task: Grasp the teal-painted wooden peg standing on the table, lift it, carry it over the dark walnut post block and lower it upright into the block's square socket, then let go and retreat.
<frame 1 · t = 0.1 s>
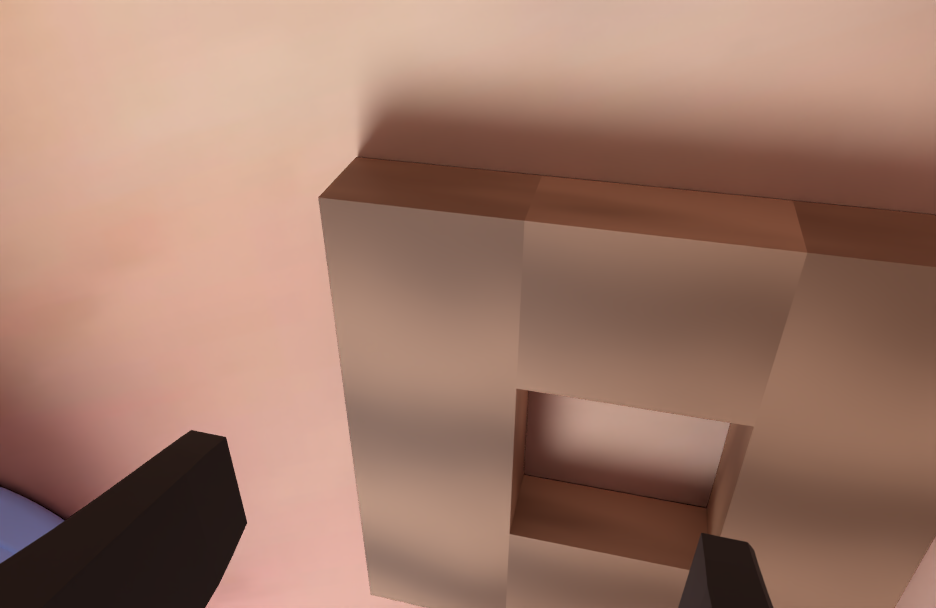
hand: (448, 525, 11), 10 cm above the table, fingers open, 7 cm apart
post block: (623, 425, 22), on the table
water jug: (24, 565, 38), on the table
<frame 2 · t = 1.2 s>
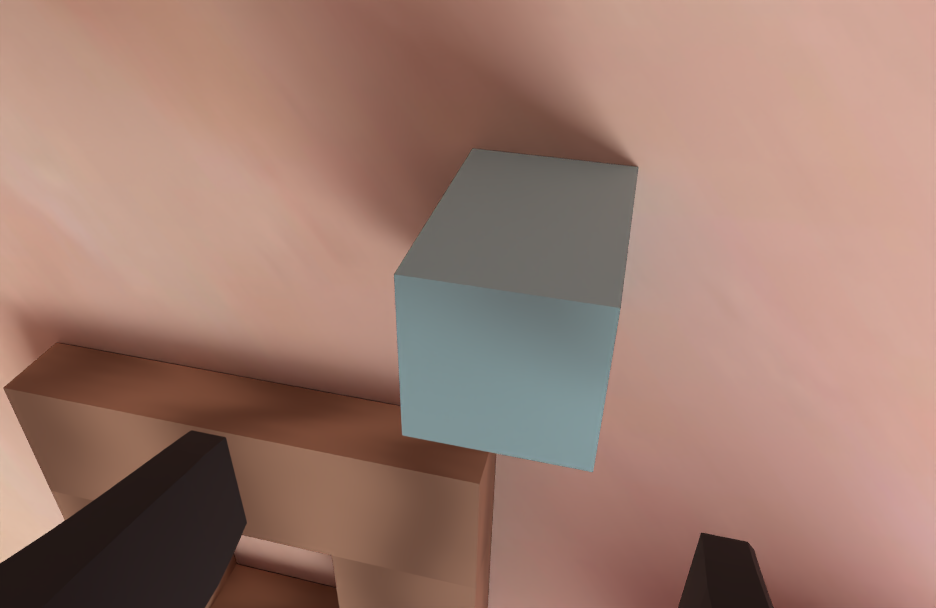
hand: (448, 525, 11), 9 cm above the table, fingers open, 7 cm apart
post block: (292, 534, 29), on the table
rail peg: (547, 230, 18), on the table
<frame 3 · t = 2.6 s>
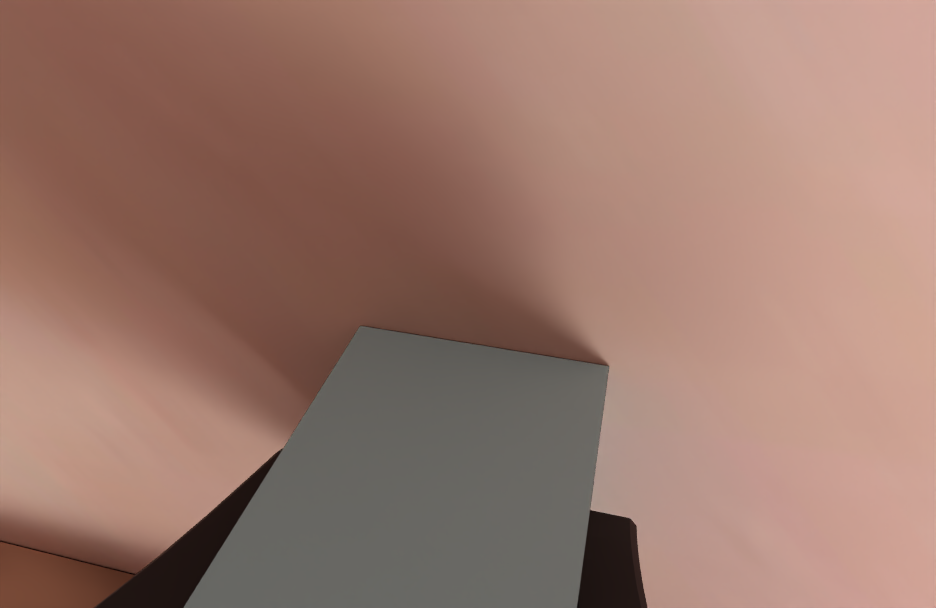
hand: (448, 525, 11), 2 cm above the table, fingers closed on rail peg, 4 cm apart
rail peg: (477, 436, 12), on the table, touching gripper
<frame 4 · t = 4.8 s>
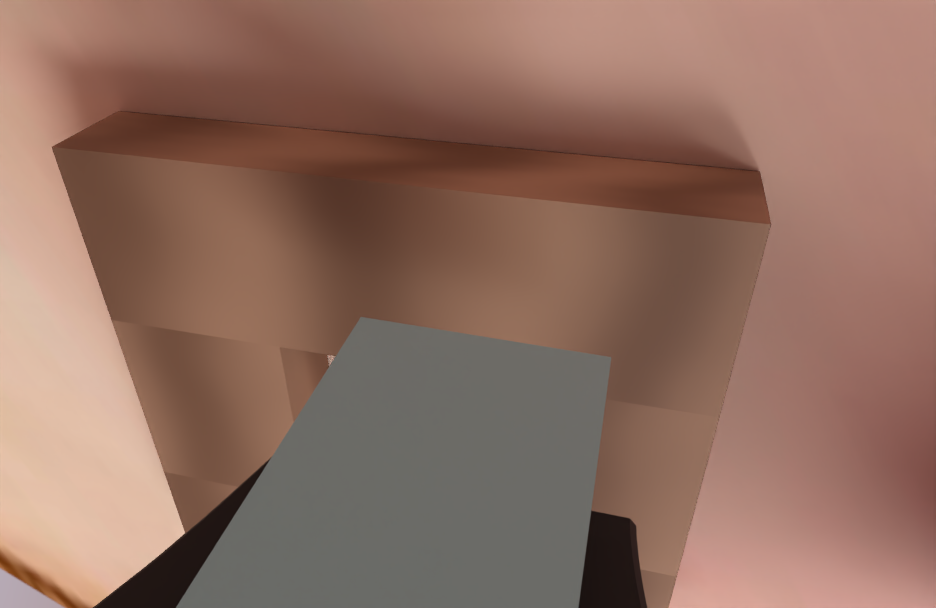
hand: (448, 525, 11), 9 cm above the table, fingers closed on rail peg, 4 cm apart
post block: (422, 390, 22), on the table
rail peg: (478, 429, 12), point 7 cm above the table, touching gripper
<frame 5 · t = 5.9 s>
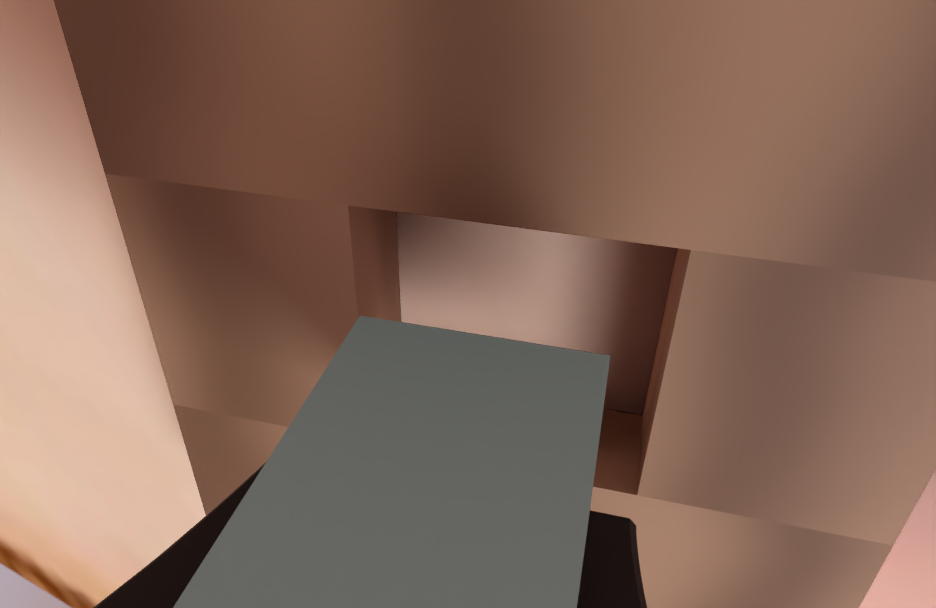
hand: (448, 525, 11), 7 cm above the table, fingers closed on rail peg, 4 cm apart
post block: (526, 293, 16), on the table
rail peg: (478, 427, 12), point 5 cm above the table, touching gripper
when the fingers open (3 cm above the table, at t = 7.0 s): rail peg drops 1 cm, resting in post block.
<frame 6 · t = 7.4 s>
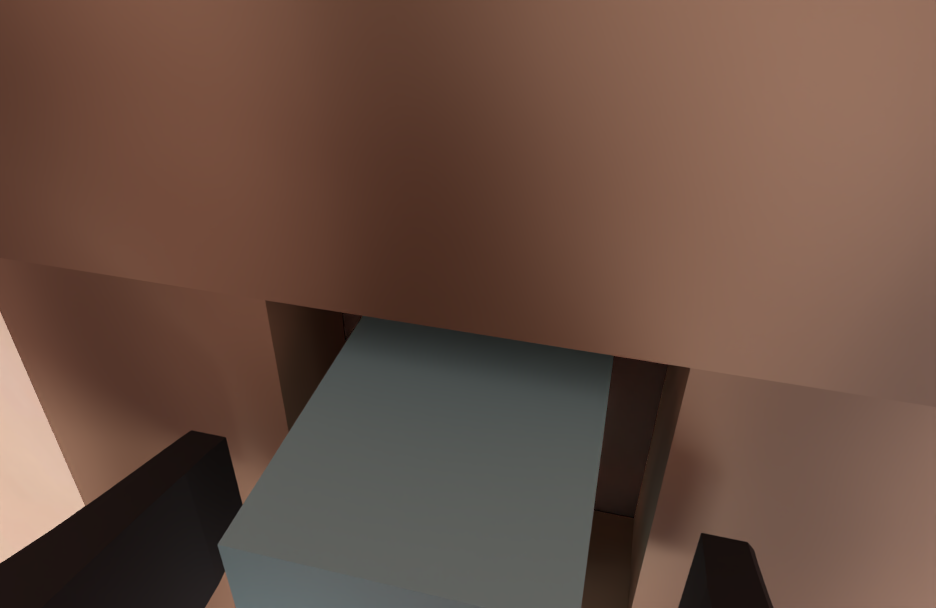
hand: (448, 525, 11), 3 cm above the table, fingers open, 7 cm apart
post block: (495, 382, 14), on the table
rail peg: (498, 373, 14), resting in post block
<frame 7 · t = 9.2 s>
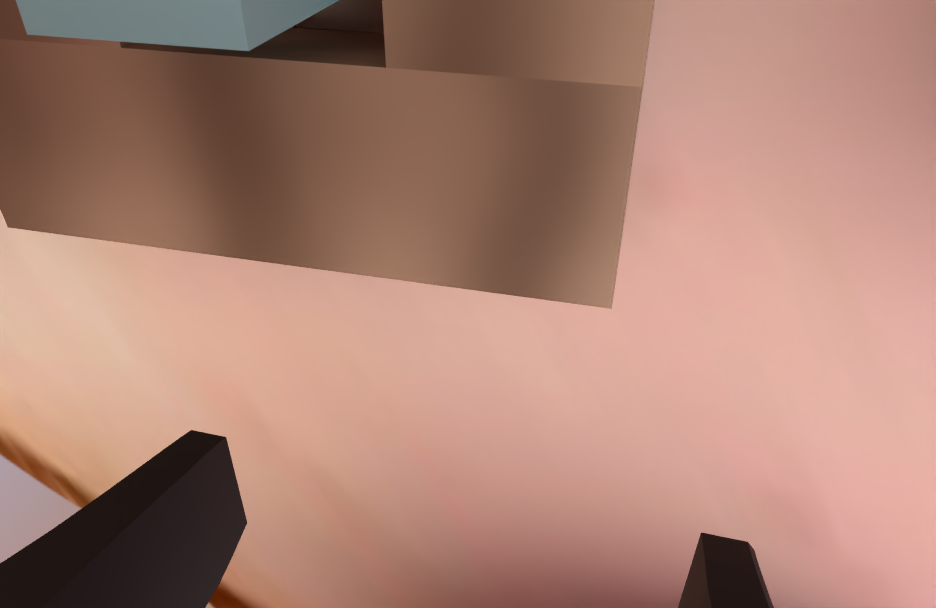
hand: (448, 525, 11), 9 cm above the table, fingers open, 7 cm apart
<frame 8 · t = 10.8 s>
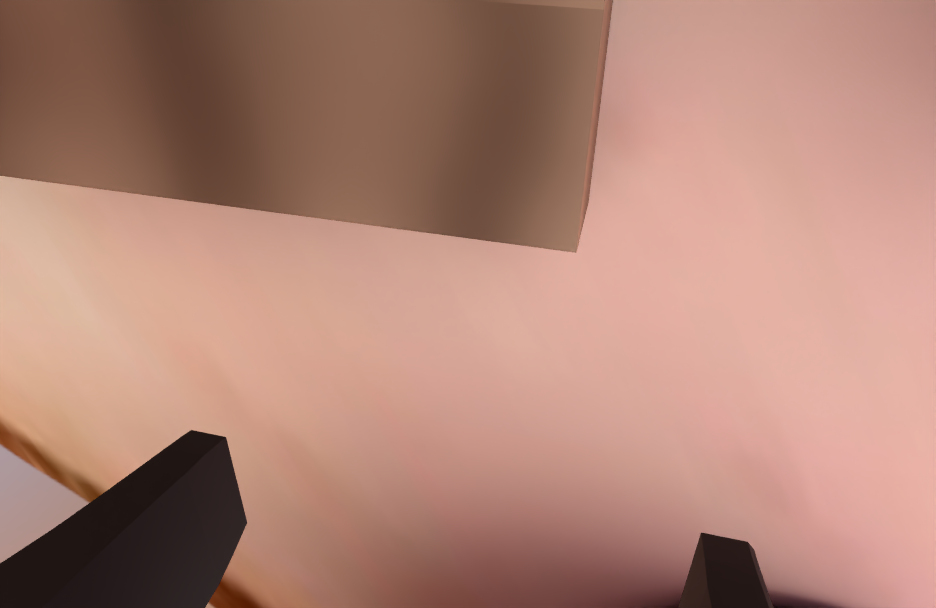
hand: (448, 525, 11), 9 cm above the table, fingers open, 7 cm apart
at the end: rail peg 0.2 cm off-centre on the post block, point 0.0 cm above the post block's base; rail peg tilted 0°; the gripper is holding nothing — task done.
